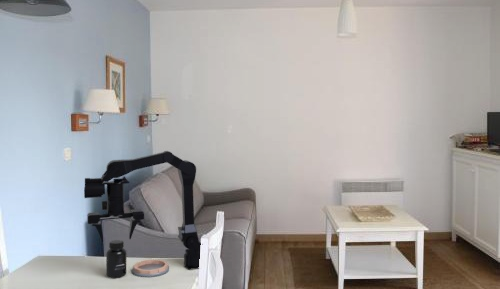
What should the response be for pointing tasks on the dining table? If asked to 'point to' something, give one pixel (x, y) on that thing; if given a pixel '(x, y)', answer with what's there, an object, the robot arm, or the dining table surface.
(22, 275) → the dining table surface
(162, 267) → the bottle holder
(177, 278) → the dining table surface
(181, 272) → the dining table surface
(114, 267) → the supplement bottle
